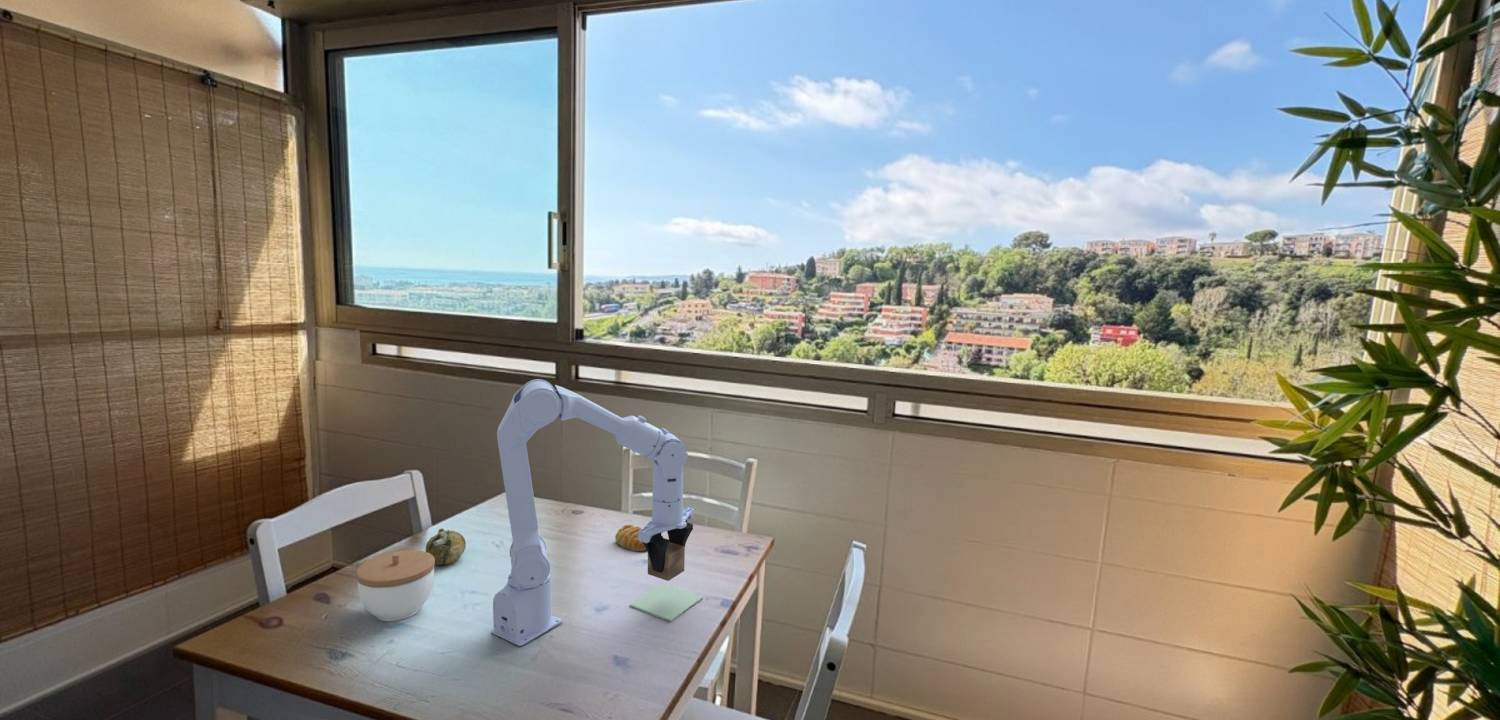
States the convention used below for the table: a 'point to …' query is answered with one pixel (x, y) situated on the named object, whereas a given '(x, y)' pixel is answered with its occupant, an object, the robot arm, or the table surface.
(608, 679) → the table surface
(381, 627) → the table surface
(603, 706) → the table surface
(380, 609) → the lidded bowl
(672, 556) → the walnut cube
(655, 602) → the green pad
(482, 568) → the table surface
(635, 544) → the pastry
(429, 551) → the green pumpkin
